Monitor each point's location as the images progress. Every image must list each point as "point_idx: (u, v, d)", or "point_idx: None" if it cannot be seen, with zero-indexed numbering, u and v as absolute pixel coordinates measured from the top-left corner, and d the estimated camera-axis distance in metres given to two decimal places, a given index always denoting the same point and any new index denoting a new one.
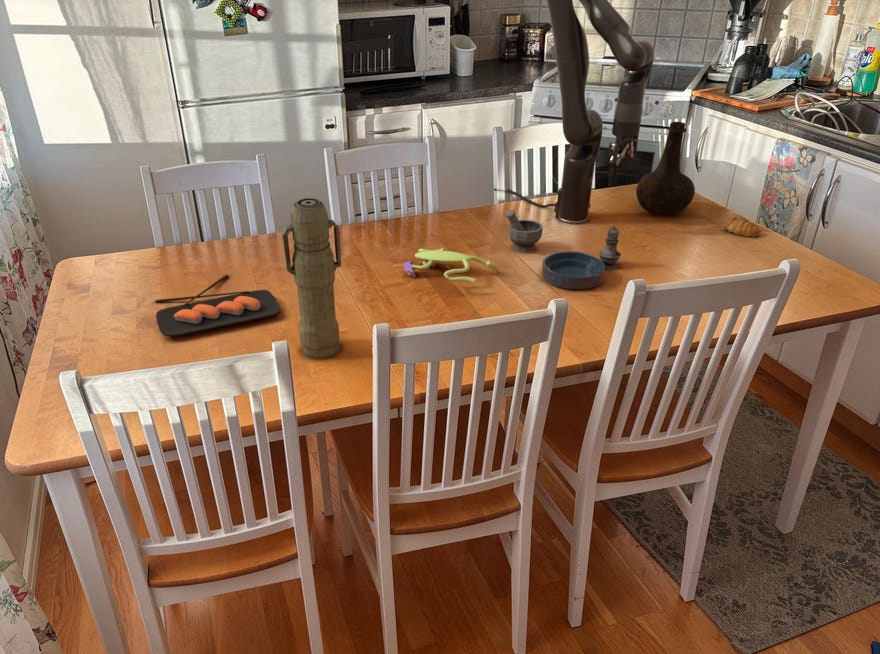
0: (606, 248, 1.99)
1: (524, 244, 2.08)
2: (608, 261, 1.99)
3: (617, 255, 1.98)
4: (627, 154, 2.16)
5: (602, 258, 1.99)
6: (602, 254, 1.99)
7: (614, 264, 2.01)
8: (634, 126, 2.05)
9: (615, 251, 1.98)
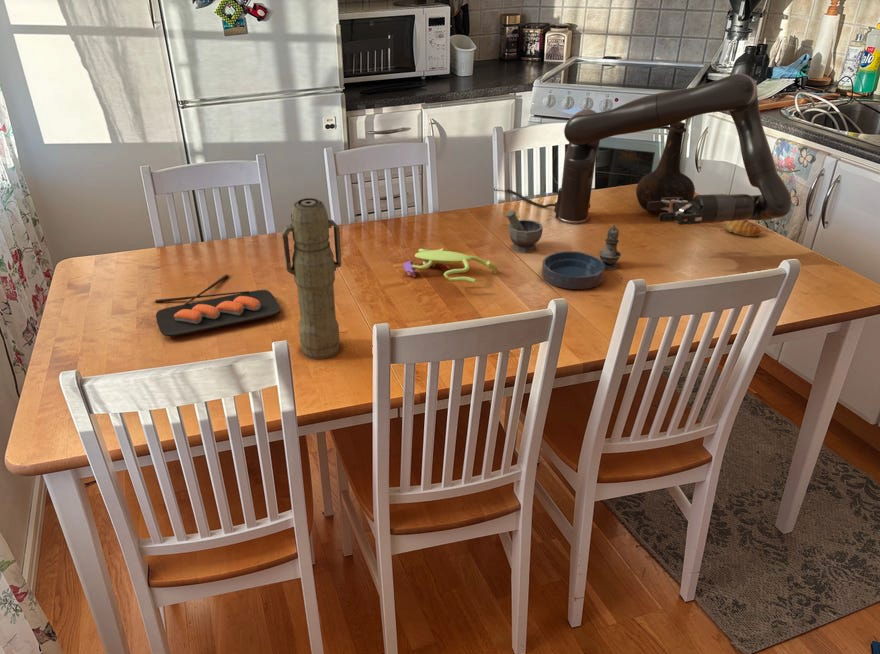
0: (606, 248, 1.99)
1: (524, 244, 2.08)
2: (608, 261, 1.99)
3: (617, 255, 1.98)
4: (664, 204, 1.98)
5: (602, 258, 1.99)
6: (602, 254, 1.99)
7: (614, 264, 2.01)
8: (708, 222, 1.95)
9: (615, 251, 1.98)
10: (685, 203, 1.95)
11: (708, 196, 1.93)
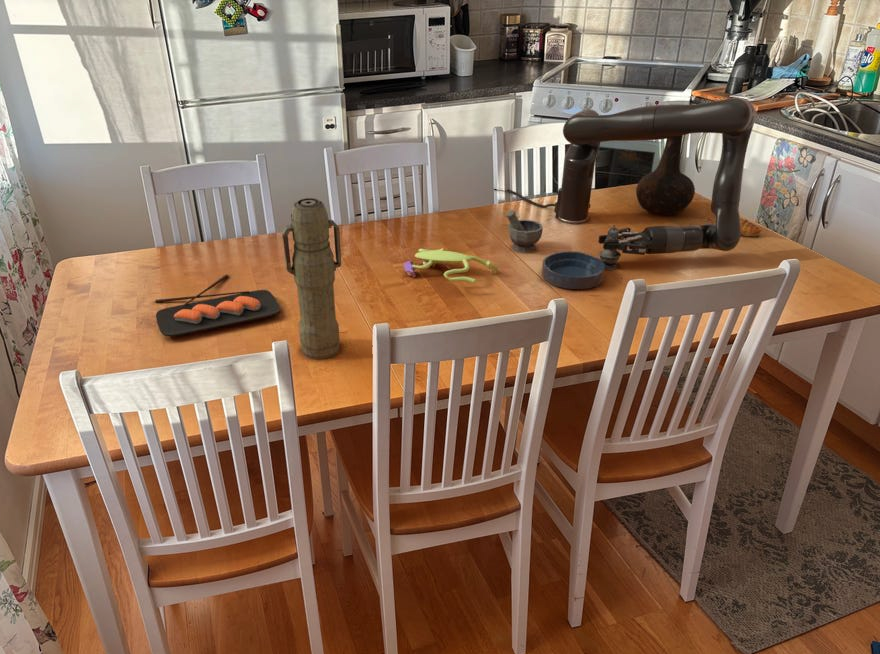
0: None
1: (524, 244, 2.08)
2: (608, 261, 1.99)
3: (617, 255, 1.98)
4: None
5: (602, 258, 1.99)
6: (602, 254, 1.99)
7: (614, 264, 2.01)
8: (658, 253, 1.99)
9: (615, 251, 1.98)
10: (637, 234, 1.98)
11: (658, 228, 1.96)
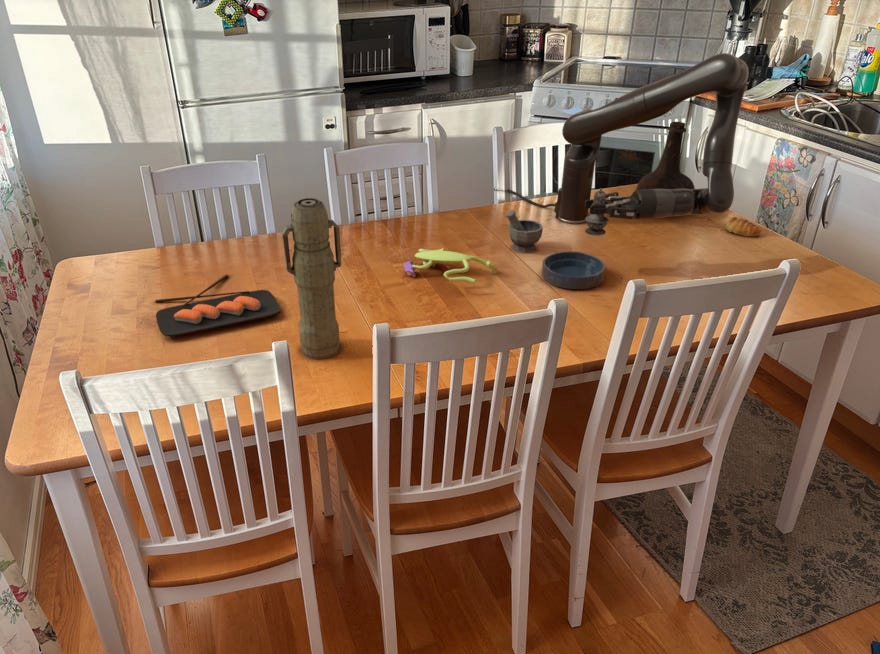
0: None
1: (524, 244, 2.08)
2: (595, 227, 1.89)
3: (604, 220, 1.89)
4: None
5: (589, 224, 1.90)
6: (589, 219, 1.90)
7: (601, 230, 1.92)
8: (647, 217, 1.89)
9: (602, 216, 1.89)
10: (625, 198, 1.89)
11: (647, 191, 1.87)
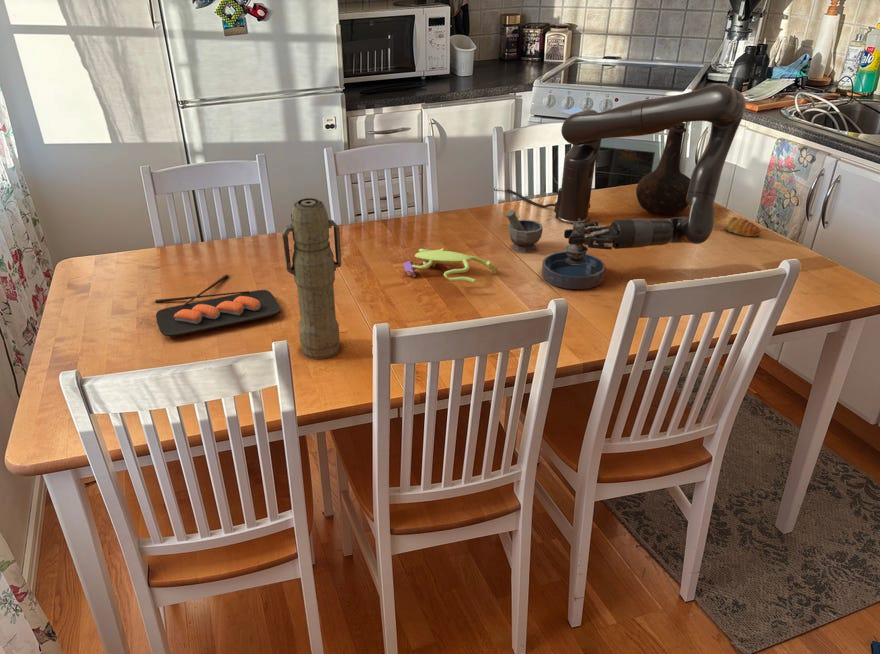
0: None
1: (524, 244, 2.08)
2: (574, 256, 1.90)
3: (583, 250, 1.90)
4: None
5: (568, 253, 1.91)
6: (568, 249, 1.91)
7: (581, 259, 1.93)
8: (627, 247, 1.90)
9: (581, 246, 1.90)
10: (604, 228, 1.90)
11: (626, 221, 1.88)
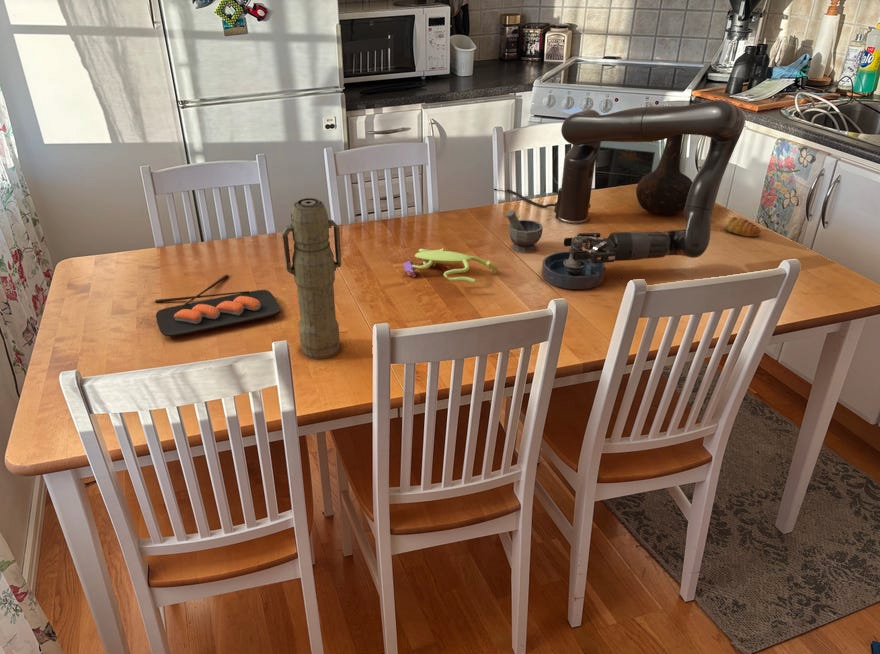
0: (570, 258, 1.92)
1: (524, 244, 2.08)
2: (572, 271, 1.92)
3: (581, 265, 1.92)
4: None
5: (566, 268, 1.93)
6: (566, 264, 1.93)
7: (579, 274, 1.95)
8: (624, 260, 1.92)
9: (579, 261, 1.92)
10: (600, 240, 1.92)
11: (623, 234, 1.90)
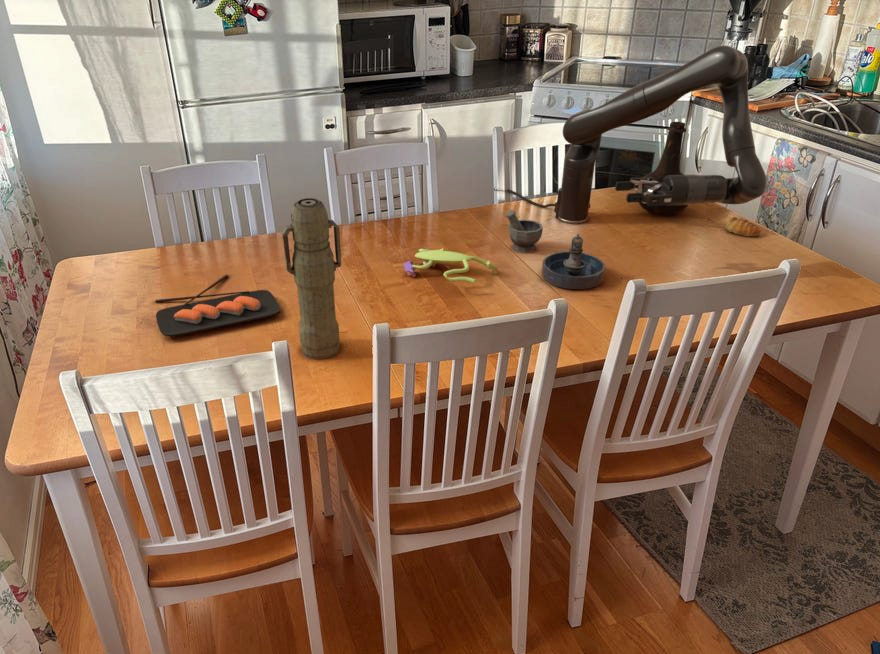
0: (570, 258, 1.92)
1: (524, 244, 2.08)
2: (572, 271, 1.92)
3: (581, 265, 1.92)
4: (633, 185, 1.88)
5: (566, 268, 1.93)
6: (566, 264, 1.93)
7: (579, 274, 1.95)
8: (678, 204, 1.85)
9: (579, 261, 1.92)
10: (655, 184, 1.84)
11: (679, 176, 1.82)
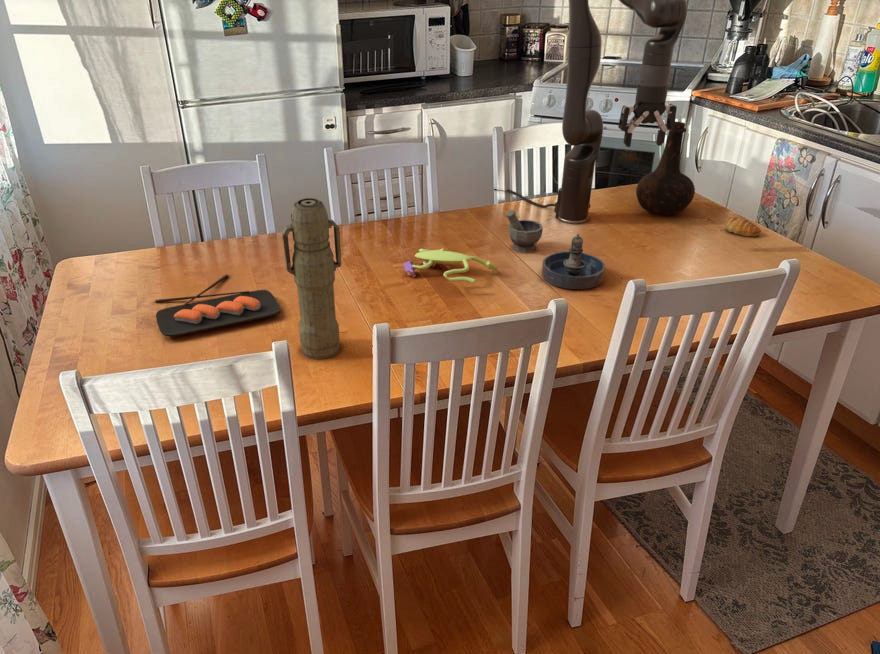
0: (570, 258, 1.92)
1: (524, 244, 2.08)
2: (572, 271, 1.92)
3: (581, 265, 1.92)
4: (661, 127, 1.93)
5: (566, 268, 1.93)
6: (566, 264, 1.93)
7: (579, 274, 1.95)
8: (649, 90, 1.84)
9: (579, 261, 1.92)
10: None
11: None
